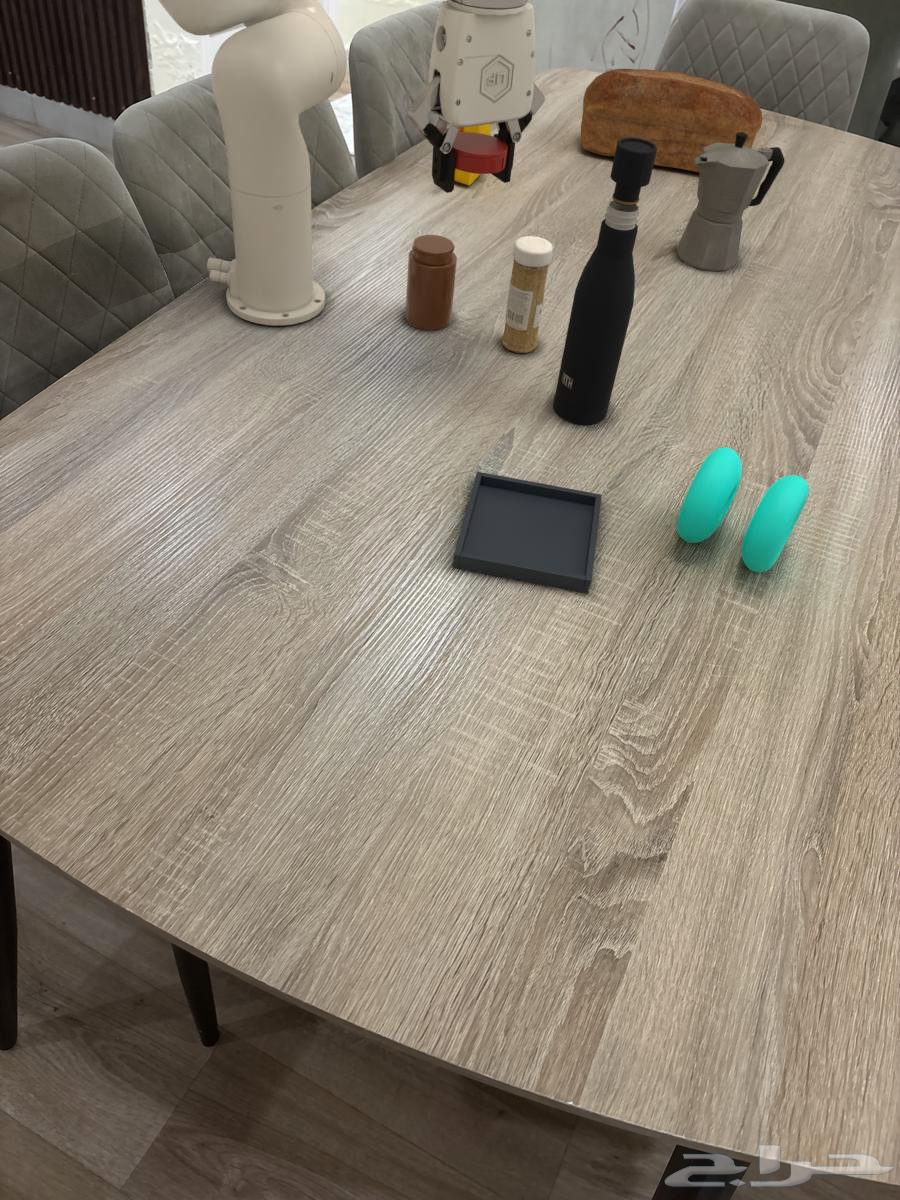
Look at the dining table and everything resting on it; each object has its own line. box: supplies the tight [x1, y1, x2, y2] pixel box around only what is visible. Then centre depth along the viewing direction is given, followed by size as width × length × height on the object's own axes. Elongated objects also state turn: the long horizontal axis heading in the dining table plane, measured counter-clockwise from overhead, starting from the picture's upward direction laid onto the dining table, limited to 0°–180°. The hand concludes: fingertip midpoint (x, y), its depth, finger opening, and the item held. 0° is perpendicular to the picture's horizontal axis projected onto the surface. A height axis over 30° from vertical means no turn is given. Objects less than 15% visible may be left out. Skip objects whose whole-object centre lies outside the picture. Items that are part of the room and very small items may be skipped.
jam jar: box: [404, 234, 458, 331], centre depth 119 cm, size 6×6×10 cm
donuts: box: [676, 446, 810, 573], centre depth 92 cm, size 10×10×10 cm
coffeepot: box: [676, 132, 785, 272], centre depth 136 cm, size 15×9×18 cm, turn 113°
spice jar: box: [501, 235, 554, 354], centre depth 115 cm, size 5×5×13 cm
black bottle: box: [552, 138, 657, 426], centre depth 100 cm, size 6×6×30 cm
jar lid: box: [451, 132, 508, 175], centre depth 98 cm, size 6×6×2 cm
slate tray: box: [452, 471, 603, 594], centre depth 94 cm, size 13×13×2 cm
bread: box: [580, 68, 763, 173], centre depth 164 cm, size 12×31×14 cm, turn 76°
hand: (471, 181), depth 100 cm, fingers closed on jar lid, 6 cm apart
